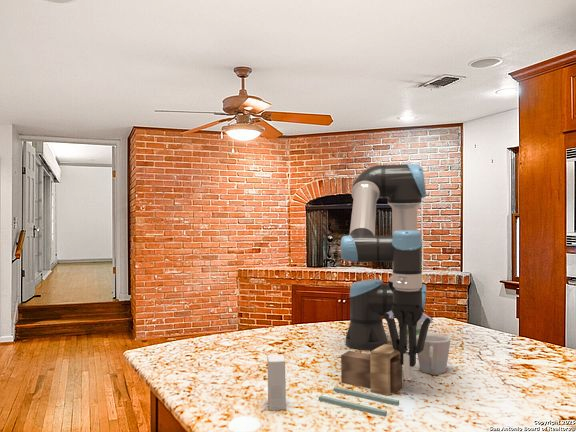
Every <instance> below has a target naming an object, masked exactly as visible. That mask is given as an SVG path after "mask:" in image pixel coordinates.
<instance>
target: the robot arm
mask: <svg viewBox="0 0 576 432" xmlns="http://www.w3.org/2000/svg"><path fill="white" fill-rule="evenodd" d="M424 176H425V174H424V170H423V167H422V166H421V165H420V164H413V163H404V164H378V165H373V166H369V168H367V169H364V170H363V171H362V172H361V173H360V174H359V175H358V176H357V177H356V178H355V180H354V181H353V183H352V186H351V193H350V194H351V197H352V199H353V201H352V208H351V209H352V211H351V217H350V218H351V219H350V227H349V235H343V236H342V237H341V239H340V256H341V259H342V261H344V262H353V263H368V262H369V263H377V262H378V263H392V275H391V276H390V277H389V278H388V281H387V282H388V283H384V282H383V280H382V279H377V278H376V279H375V278H373V279H364V280H358V281H355V282H353V283H351V284H350V287H349V289H350V290H349V311H350V312H349V326H348V328H347V332H346V335H345V345H346V347H348V348H351V349H355V350H363V351H373V350H374V349H376V348H378V347H380V346H382V345H384V344H389V343H388V341H389V340H388V339H389V338H388V335H387V333H386V330H385V327H384V324H383V318H384V320H385V322H387V329H388V331H389V336H390V340H391V345H393V349H394V350H398V351H399V352H400V363H401V365H402V366H403V379H404V380H411V379H412V378H413V376H414V372H413V371H414V370H413V368H414V367H415V366H416V365H417V353H420V352H421V351H423V348H424V344H425V340H426V335H427V333H428V331H429V327H430V325H431V323H432V322H433V317H432V316H429V315H427V314H426V313H425V305H426V301H427V300H426V298H427V285H426V284H424V283H423V268H422V265H423V263H422V262H423V261H422V260H423V259H422V258H423V257H422V256H423V254H422V252H423V249H422V246H423V241H422V233H421V232H420V231H419V230H418V208H419V206H420V205H421V204H422V203H423V202H422V199H425V198H426V197H427V189H426V182H425V177H424ZM379 199H387V204H388V206H390V208H391V211H392V212H391V215H392V216H391V221H392V223H391V227H392V228H391V229H392V231H391V232H392V233H391V234H392V235H376V219H377V215H376V214H377V201H378V200H379ZM421 317H422V320H421V321H422V326H421V329H420V333H419V338H418V342H417V346H416V327H417V322H418V321H419V319H420V318H421ZM395 319H396V320H397V322H398V328H397V324H396V320H395ZM407 325H408V329H409V335H407ZM398 329H399V330H398Z"/></svg>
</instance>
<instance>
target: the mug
mask: <svg viewBox="0 0 576 432" xmlns="http://www.w3.org/2000/svg"><path fill="white" fill-rule="evenodd" d="M418 338H419V335H416V346H417V342H418ZM450 346H451V338H450V337H449V336H447V335H445V334H439V333H431V332H430V333H429V332H427V335H426V340H425V344H424V348H423V351H421V352H420V353H417V354H416V356H417V361H418V368H419V371H421V372H422V373H425V374H431V375H441V374H444V373H446V372H447V367H448V360H449V353H450Z"/></svg>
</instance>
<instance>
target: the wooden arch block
mask: <svg viewBox="0 0 576 432" xmlns="http://www.w3.org/2000/svg"><path fill="white" fill-rule="evenodd" d="M369 354H370V378H371V389H370V393H374V394H378V395H383V396H390V395H391V394H392V393H391V389H390V359H391V358H397V359H400V352H399V351H398V350H394V349H393V345H392V344H389V343H388V344H384V345H382V346H380V347H378V348H376V349H374V350H370V352H369Z"/></svg>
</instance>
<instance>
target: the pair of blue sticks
mask: <svg viewBox="0 0 576 432" xmlns="http://www.w3.org/2000/svg"><path fill="white" fill-rule="evenodd" d="M332 389H333V392H334V391H335V393H338V394H344V395H348V396H353V397H357V398H362V399H366V400H370V401H375V402H380V403H383V404H384V403H385V404H389V405H393V406H396V407H397V406H399V405H400V400H398V399H393V398H389V397H386V396H385V397H384V396H379V395H376V394H371V393H366V392H361V391H359V390H358V391H356V390H353V389H349V388H343V387H338V386H334V387H333V388H332ZM319 400H320V401H319ZM318 401H319V402H323V401H324V402H323V403H327V402H328V403H327V404H331V403H332V405H335V404H336V406H340V407H344V408H349V409H352V410H353V409H354V410H357V411H361V412H366V413H369V414H373V415H377V416H383V417H386V416H387V415H388V411H387V410H385V409H380V408H376V407H373V406H367V405H364V404H359V403H355V402H351V401H347V400H346V401H345V400H342V399H337V398H333V397H328V396H326V395H319V396H318Z"/></svg>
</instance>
